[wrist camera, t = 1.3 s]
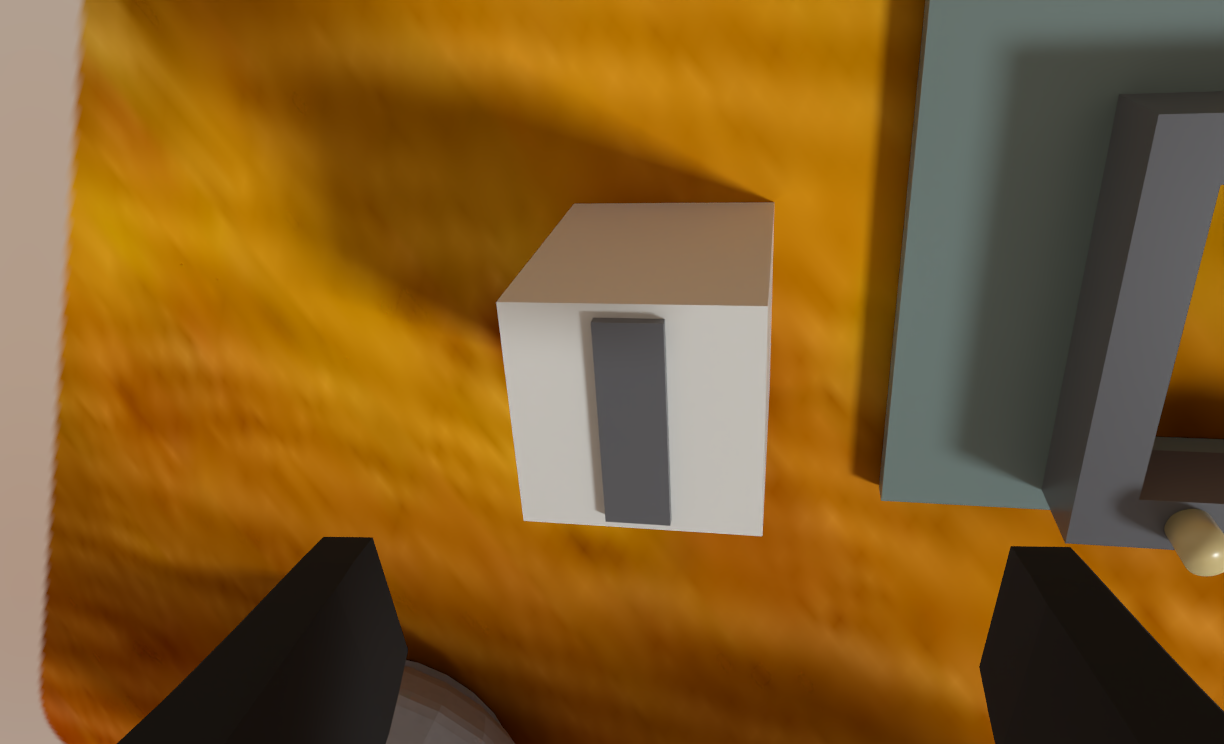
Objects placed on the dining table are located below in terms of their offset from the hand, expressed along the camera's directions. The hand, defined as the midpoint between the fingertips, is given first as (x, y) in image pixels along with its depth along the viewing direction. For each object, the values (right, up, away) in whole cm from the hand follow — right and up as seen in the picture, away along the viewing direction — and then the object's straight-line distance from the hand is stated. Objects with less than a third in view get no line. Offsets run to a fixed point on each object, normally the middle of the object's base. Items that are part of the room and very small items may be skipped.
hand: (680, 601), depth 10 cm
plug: (+1, +4, +10) cm, 11 cm away
